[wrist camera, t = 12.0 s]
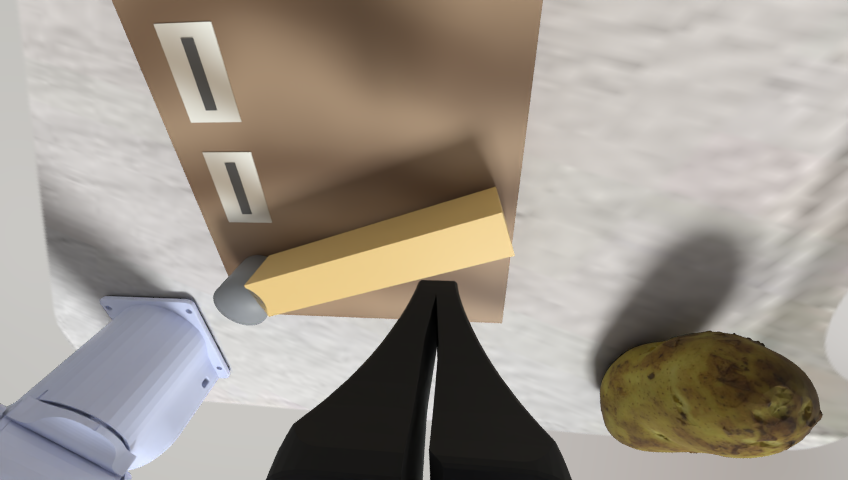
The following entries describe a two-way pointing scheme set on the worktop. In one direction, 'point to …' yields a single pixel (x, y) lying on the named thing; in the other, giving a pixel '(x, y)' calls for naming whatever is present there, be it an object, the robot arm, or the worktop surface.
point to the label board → (341, 119)
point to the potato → (708, 397)
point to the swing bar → (368, 258)
